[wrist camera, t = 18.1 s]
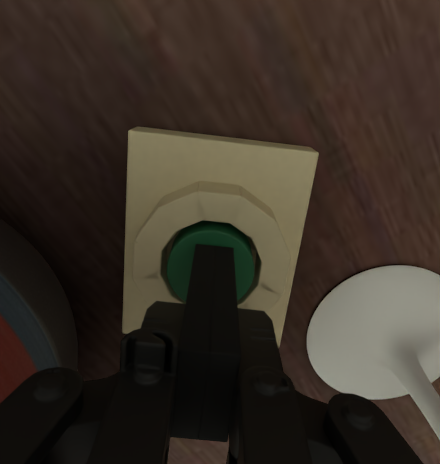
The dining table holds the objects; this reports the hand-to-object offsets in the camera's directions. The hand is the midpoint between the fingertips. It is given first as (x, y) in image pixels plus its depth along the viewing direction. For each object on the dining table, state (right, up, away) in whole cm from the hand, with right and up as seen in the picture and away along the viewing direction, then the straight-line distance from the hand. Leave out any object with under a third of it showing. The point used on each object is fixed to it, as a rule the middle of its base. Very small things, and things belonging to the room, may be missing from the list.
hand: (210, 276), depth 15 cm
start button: (0, +1, +2) cm, 2 cm away
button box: (0, +2, +4) cm, 4 cm away
